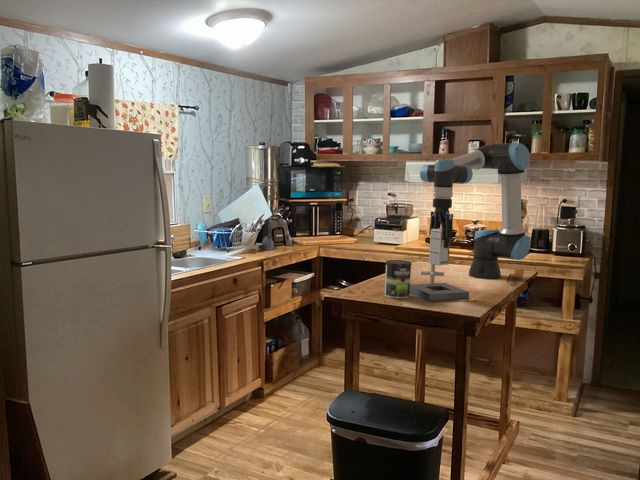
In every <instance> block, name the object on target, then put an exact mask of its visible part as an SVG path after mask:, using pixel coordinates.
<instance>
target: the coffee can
mask: <svg viewBox="0 0 640 480" xmlns="http://www.w3.org/2000/svg"><path fill="white" fill-rule="evenodd" d="M411 269H412V262H411V261H409V260H402V259H401V260H400V259H390V260H385V275H384V276H385V278H384V279H385V281H384V296H385V297H386V298H388V299H389V298H390V299H398V300H401V299H404V300H405V299H408V298H409V299H410V294H411V293H410V285H411Z"/></svg>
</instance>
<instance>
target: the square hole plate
mask: <svg viewBox="0 0 640 480" xmlns="http://www.w3.org/2000/svg"><path fill="white" fill-rule="evenodd" d="M410 294H412V295H414V296H416V297H419V298H421V299H423V300H425V301H427V302H429V303H430V302H432V301H433V302H444V301H445V302H446V301H447V302H449V301H462V300H463V301H464V300H469V299H470V291H468V290H466V289H463V288H460V287H458V286H454V285H452V284H449V283H447V282H437V283H435V282H434V284H430V283H415V284H410ZM433 302H432V303H433Z"/></svg>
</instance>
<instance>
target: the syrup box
mask: <svg viewBox="0 0 640 480" xmlns="http://www.w3.org/2000/svg"><path fill="white" fill-rule="evenodd" d="M429 236H430V238H429V239H430V240H429V256H428V257H429V259H428V263H429V265H431V264H433V265H435V266H438V267H439V266H448V265H449V264H450V263H449V261H450V247H451V239H450V240H449V245H448V256H441V244H442V238H443V234H442V227H440V229H431V235H429ZM445 237H446V236H445Z"/></svg>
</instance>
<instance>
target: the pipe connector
mask: <svg viewBox="0 0 640 480" xmlns="http://www.w3.org/2000/svg"><path fill="white" fill-rule="evenodd" d="M420 275H421V276H429V277H430V278H429V284H435V277H436V276H437V277H444V276H445V272H444V271H436V265H433V264H430V270H429V271H427V270H421V271H420Z"/></svg>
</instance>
